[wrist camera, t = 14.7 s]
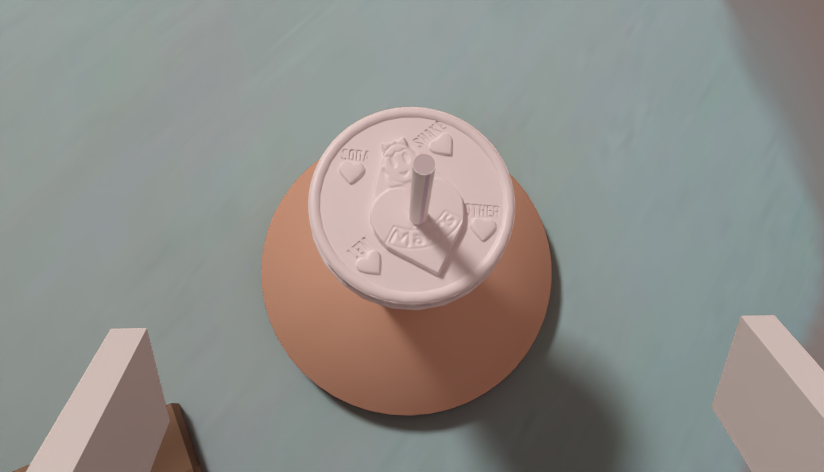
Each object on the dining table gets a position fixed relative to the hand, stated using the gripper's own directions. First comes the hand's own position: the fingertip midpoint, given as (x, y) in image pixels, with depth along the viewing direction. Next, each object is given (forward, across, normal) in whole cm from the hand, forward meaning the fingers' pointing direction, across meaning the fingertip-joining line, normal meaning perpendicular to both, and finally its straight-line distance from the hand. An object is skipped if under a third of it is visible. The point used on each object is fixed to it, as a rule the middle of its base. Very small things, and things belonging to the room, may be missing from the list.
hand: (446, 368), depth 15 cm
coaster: (+14, 0, -6) cm, 15 cm away
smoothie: (+13, 0, -6) cm, 14 cm away
